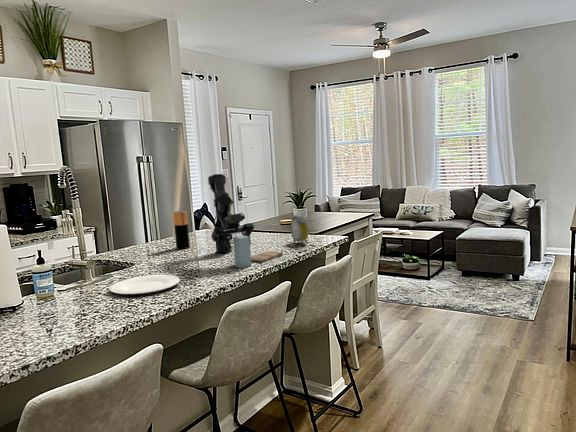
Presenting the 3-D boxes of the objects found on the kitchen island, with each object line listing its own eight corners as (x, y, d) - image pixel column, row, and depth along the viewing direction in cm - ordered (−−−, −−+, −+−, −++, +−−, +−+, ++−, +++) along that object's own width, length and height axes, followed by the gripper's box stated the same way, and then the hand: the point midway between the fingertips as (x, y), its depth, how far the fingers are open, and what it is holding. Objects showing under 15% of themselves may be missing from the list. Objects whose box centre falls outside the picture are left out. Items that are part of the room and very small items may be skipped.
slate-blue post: (235, 266, 194) (233, 237, 193) (245, 263, 197) (243, 235, 196) (241, 267, 190) (238, 238, 189) (251, 265, 193) (249, 236, 192)
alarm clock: (290, 242, 241) (289, 214, 240) (302, 240, 244) (300, 213, 242) (300, 245, 231) (299, 216, 229) (312, 244, 234) (311, 215, 232)
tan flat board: (262, 262, 197) (262, 260, 197) (246, 261, 202) (245, 258, 202) (282, 255, 210) (282, 252, 210) (266, 253, 215) (266, 251, 215)
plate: (125, 280, 181) (124, 276, 181) (187, 277, 180) (187, 273, 180) (97, 300, 156) (96, 294, 156) (169, 296, 155) (168, 291, 155)
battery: (192, 247, 242) (188, 210, 239) (179, 250, 238) (175, 212, 235) (186, 246, 248) (183, 209, 245) (174, 248, 244) (171, 211, 241)
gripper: (212, 209, 190) (226, 238, 183) (250, 204, 201) (265, 231, 193) (205, 226, 198) (219, 254, 190) (243, 221, 208) (257, 247, 201)
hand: (240, 246), depth 193 cm, fingers open, 9 cm apart
